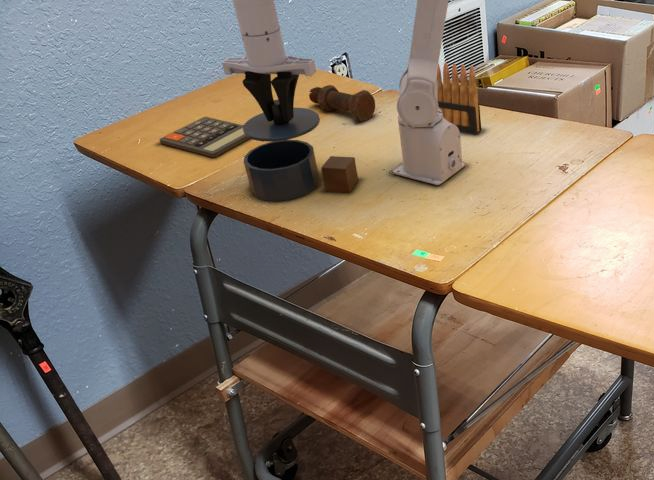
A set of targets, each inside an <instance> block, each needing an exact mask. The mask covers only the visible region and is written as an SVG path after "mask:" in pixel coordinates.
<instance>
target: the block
mask: <svg viewBox="0 0 654 480" xmlns="http://www.w3.org/2000/svg"><path fill="white" fill-rule="evenodd" d="M320 169H321V174H322V179H323V184H324V189H325V191H326V192H331V193H346V194H350V193H351V192H352V191H353V189H354V188H355V187H356V185H357V183H358V182H359V176H358V169H357V164H356V157H354V156H337V155H331V156H329V158H328V159H327V160H325V162H324V164H322V166H321V167H320Z"/></svg>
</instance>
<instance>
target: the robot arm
mask: <svg viewBox="0 0 654 480" xmlns="http://www.w3.org/2000/svg"><path fill="white" fill-rule="evenodd" d="M232 3H233V7H234V12H235V15H236V20H237V23H238V28H239V31H240V36H241V40H242V44H243V48H244V51H245V55H246V56H242V57H241V56H239V57H227V58H226V59H224V60H223V61H221V65H222V69H223V73H224V75H225V76H231V75H233V74H242V75H243V74H244V79H243V80H242V85H243V87H244V88H245V89H246V90H247V91H248V92H249V93H250V94H251V96H252V97H253V98H254V99H255V101H256V102H257V104H258V105H259V107H260V109H261V111H262V113H264V115H265V117H266V119H267V121H272V120H273V118H272V114H271V110H270V105H269V103H270V102H271V101H273V100H275V99H274V95H273V90H274V92H275V95H276V96H277V97H276V98H277V100H279V103H280V107H281V111H282V116H283V119H284V121H285V122H289V121H290V120H291V119H292V118H293V117H294V115H293V108H294V107H295V106H294V105H295V104H294V103H295V95H296V89H297V86H298V85H297V84H298V81H299V79H300V76H301V75H302V76H303V75H304V76H305V77H313V76H314V75H315V73H317V67H316V63H315V59H314V58H304V57H299V56H293V55H288V54H286V51H285V46H284V41H283V35H282V32H281V27H280V21H279V18H278V13H277V9H276V4H275V0H232ZM448 6H449V0H416V8H415V14H414V21H413V28H412V36H411V43H410V50H409V58H408V63H407V67H406V69H405V71H404V72H403V74H402V75H401V77H400V80H399V85H398V87H399V93H398V97H397V101H396V111H397V124H398V132H399V139H400V148H401V157H402V164H401V165H399V166H398V167H396V168H394V169H393V170H392V173H393V174H394V175H396V176H400V177H401V176H402V177H403V178H408V179H412V180H416V181H419V182H423V183H427V184H430V185H436V186H440V185H442V184H443V183H444V182H445V181H447V180H448V179H449V178H451V177H452V176H454V175H455V174H456V173H458V172H459V171H460V170H462V169H463V168H464V167H465V166H466V165H465V163H464V162H463V159H462V144H461V143H462V141H461V132H459V129H458V127H457V126H456V125H455V124H452V123H450V122H448V121H447V120H446V119H445V118H444V117H443V113H442V110H440V108H439V107H438V101H437V96H438V81H437V70H438V63H439V62H440V54H441V49H442V42H443V37H444V30H445V24H446V19H447V13H448ZM272 75H276V76H275V77H274V78H273V79H272ZM272 88H273V89H272Z"/></svg>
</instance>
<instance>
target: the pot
mask: <svg viewBox="0 0 654 480" xmlns="http://www.w3.org/2000/svg"><path fill="white" fill-rule="evenodd" d="M243 166H244V169H245V173H246V177H247V180H248V183H249V187H250V190H251V192H252V194H253V195H254V196H255V197H256V198H258V199H261V200H263V201H268V202H282V201H283V202H284V201H290V200H294V199H297V198H301V197H303V196H305V195H307V194H310V193H311V192H313V191H314V190H315V189H316V188H317V187H318V185H319V183H320V174H319V169H318V164H317V159H316V155H315V150H314V146H312V144H310V143H309V142H307V141H303V140H299V139H288V140H283V141H269V142H266V143H263V144H260V145H258V146H256V147H254V148H252V149H250V150H249V151H248V152H247V153H246V154H245V155H244V156H243Z"/></svg>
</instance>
